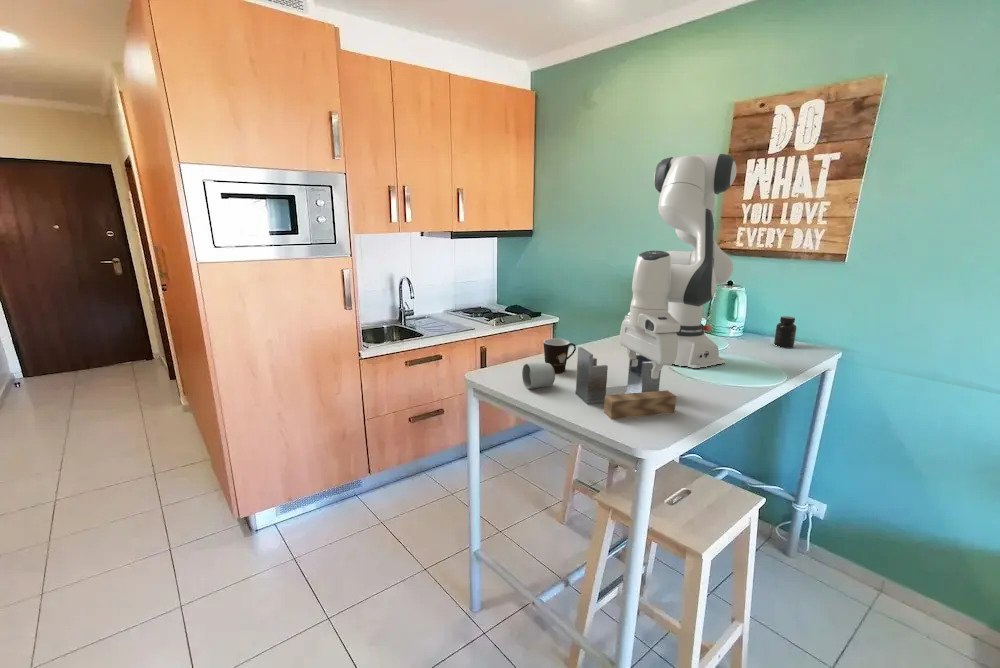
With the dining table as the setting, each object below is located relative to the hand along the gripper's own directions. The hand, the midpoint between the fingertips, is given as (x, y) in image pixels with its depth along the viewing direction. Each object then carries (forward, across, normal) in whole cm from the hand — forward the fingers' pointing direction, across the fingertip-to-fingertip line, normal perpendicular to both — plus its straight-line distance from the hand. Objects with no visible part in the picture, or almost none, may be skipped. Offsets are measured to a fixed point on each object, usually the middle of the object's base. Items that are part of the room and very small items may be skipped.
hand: (642, 371), depth 109 cm
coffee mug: (+11, -36, -8) cm, 39 cm away
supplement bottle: (+10, -44, +92) cm, 103 cm away
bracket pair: (+11, -12, 0) cm, 17 cm away
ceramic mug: (+12, -25, -20) cm, 34 cm away
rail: (+12, 0, 0) cm, 12 cm away
